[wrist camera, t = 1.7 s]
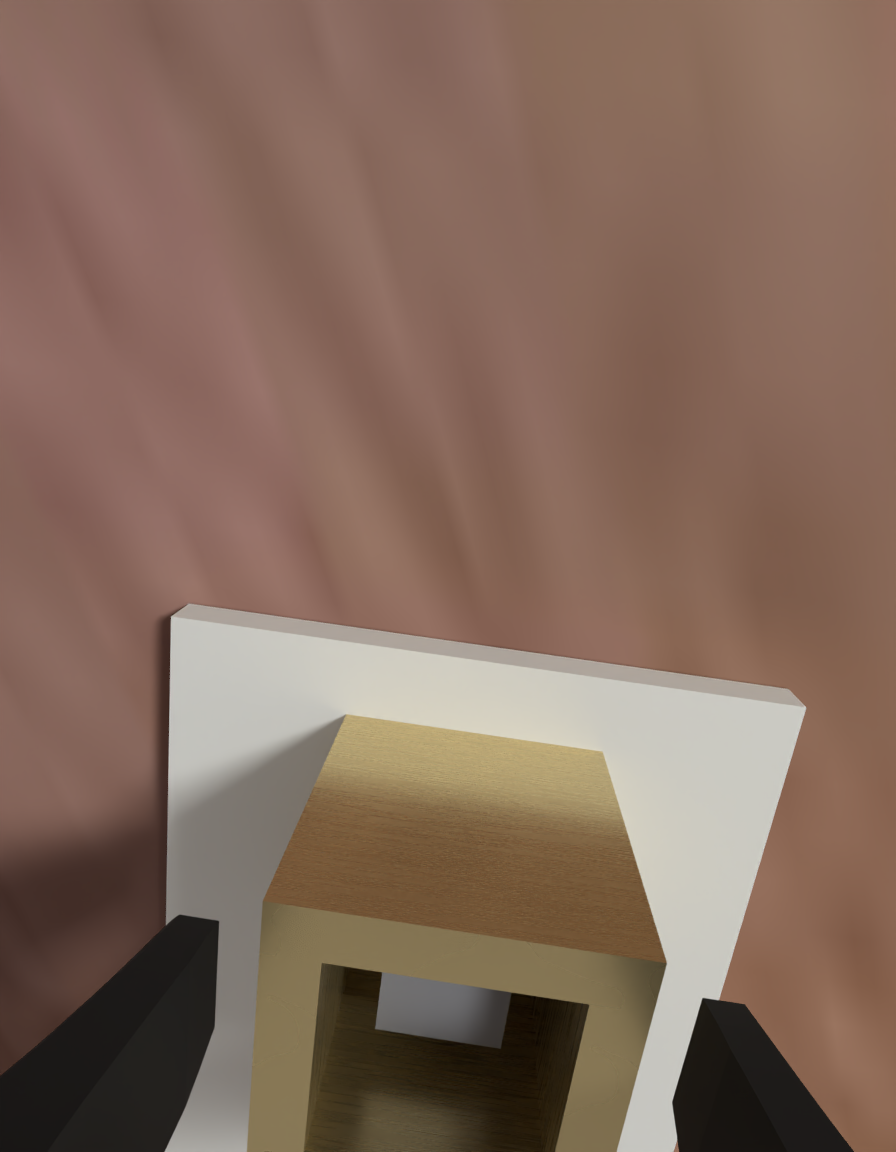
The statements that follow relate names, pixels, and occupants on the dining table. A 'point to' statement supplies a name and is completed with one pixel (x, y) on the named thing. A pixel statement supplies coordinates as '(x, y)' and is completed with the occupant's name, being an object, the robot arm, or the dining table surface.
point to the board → (472, 704)
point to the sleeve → (453, 949)
